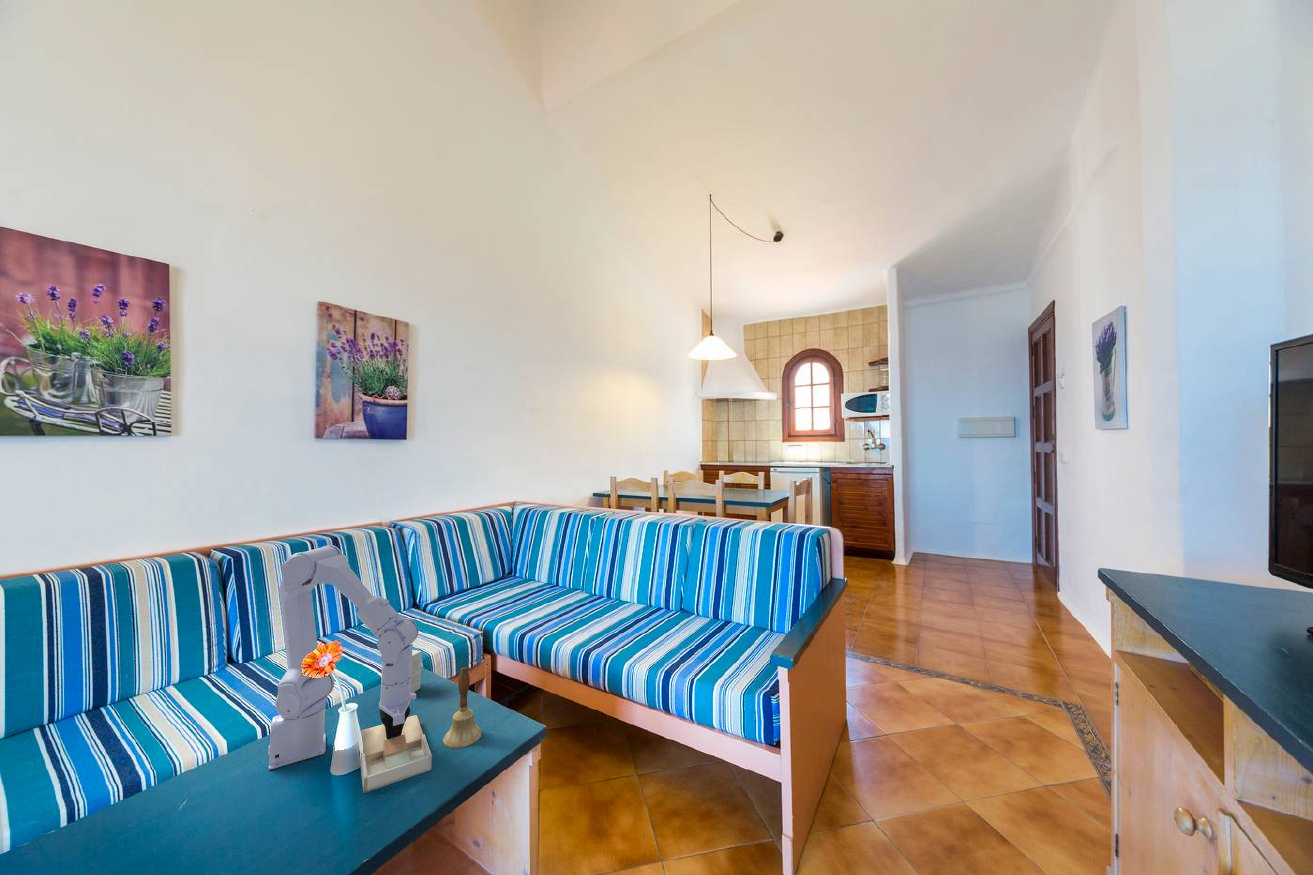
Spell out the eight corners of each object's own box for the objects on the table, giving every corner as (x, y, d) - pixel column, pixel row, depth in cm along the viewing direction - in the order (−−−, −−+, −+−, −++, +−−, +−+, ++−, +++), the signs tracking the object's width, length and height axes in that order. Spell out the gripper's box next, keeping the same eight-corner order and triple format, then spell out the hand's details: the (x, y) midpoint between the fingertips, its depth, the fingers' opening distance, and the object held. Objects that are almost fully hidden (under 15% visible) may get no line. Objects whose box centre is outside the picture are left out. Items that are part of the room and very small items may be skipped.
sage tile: (386, 781, 91) (387, 768, 91) (384, 769, 94) (385, 757, 94) (409, 773, 93) (410, 760, 93) (406, 761, 96) (407, 750, 97)
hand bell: (449, 753, 100) (452, 679, 101) (438, 735, 107) (441, 666, 107) (486, 739, 106) (489, 669, 106) (474, 722, 112) (477, 656, 113)
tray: (363, 793, 88) (363, 778, 88) (360, 767, 95) (361, 753, 95) (431, 769, 95) (432, 755, 95) (424, 746, 102) (424, 734, 102)
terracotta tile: (384, 765, 94) (385, 755, 94) (382, 750, 98) (383, 740, 97) (406, 758, 97) (407, 748, 96) (403, 744, 100) (404, 734, 100)
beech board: (360, 767, 95) (361, 757, 95) (357, 740, 104) (358, 731, 104) (424, 746, 102) (424, 737, 102) (416, 723, 111) (416, 714, 111)
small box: (381, 693, 124) (383, 654, 125) (398, 683, 130) (400, 646, 130) (404, 698, 122) (406, 658, 123) (420, 688, 127) (422, 650, 128)
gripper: (421, 688, 96) (418, 753, 96) (412, 661, 108) (409, 720, 108) (383, 697, 92) (379, 766, 92) (377, 669, 104) (374, 730, 103)
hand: (393, 742), depth 99 cm, fingers closed
